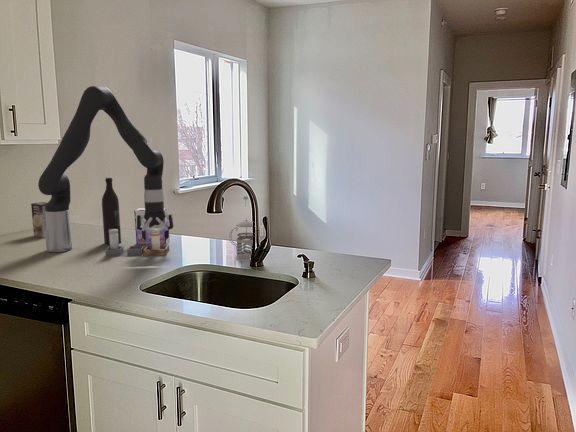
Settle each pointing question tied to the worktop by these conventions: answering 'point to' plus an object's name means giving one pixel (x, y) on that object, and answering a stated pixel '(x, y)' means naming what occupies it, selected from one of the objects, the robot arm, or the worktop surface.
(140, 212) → the candy box
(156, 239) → the marked fuse
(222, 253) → the worktop surface
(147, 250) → the walnut tray
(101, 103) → the robot arm
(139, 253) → the fuse holder
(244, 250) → the french press
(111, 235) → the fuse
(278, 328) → the worktop surface
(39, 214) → the coffee box
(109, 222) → the wine bottle
